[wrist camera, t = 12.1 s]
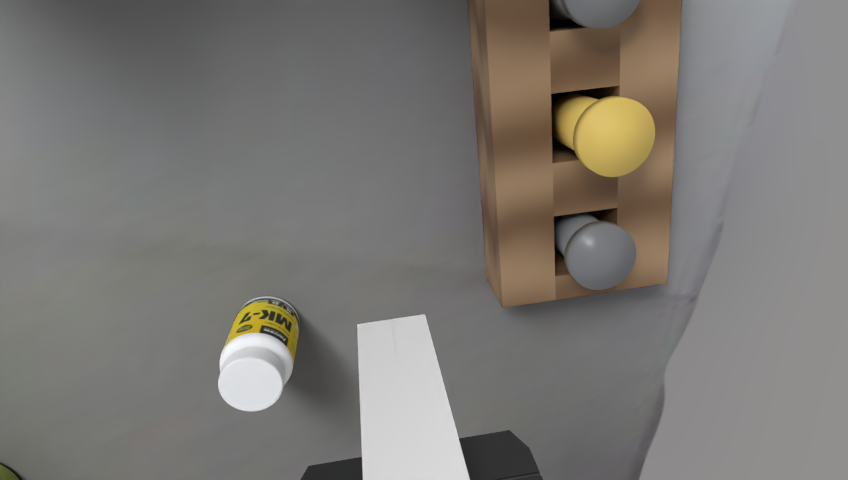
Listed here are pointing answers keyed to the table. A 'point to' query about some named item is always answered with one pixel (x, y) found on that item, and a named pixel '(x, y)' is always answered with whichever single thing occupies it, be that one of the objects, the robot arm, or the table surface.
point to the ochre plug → (604, 132)
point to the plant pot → (7, 474)
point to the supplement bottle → (259, 354)
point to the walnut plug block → (558, 164)
